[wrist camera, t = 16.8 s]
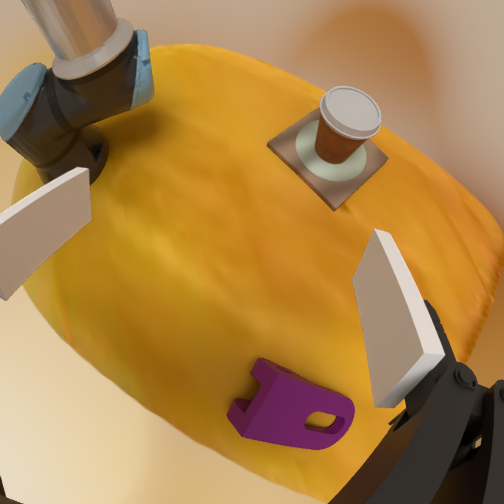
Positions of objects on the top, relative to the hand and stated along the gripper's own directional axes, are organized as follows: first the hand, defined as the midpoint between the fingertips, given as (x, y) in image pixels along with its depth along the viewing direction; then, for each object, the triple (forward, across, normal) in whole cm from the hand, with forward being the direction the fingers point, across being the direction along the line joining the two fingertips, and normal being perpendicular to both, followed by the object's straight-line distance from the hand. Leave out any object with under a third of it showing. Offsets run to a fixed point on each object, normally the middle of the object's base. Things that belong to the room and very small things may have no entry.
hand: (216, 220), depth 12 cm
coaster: (+41, +11, -3) cm, 43 cm away
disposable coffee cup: (+40, +11, -3) cm, 42 cm away
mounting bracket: (+12, +13, -34) cm, 38 cm away
